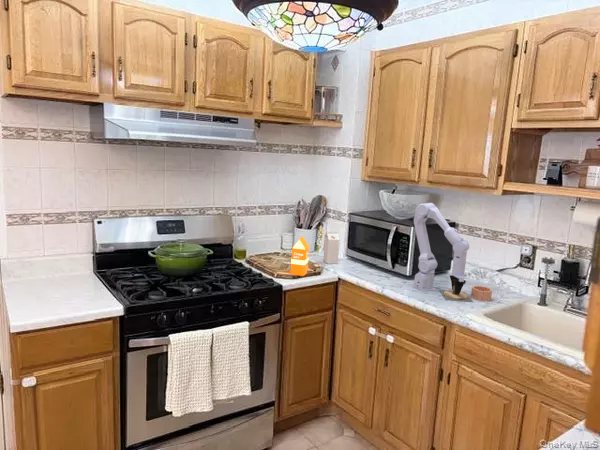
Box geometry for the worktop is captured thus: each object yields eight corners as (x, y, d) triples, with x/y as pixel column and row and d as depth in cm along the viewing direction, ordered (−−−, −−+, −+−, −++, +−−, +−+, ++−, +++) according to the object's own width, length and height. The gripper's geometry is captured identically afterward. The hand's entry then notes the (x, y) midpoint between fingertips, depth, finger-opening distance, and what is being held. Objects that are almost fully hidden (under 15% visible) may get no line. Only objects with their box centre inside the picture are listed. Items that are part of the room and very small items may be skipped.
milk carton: (323, 261, 275) (325, 230, 272) (334, 260, 277) (336, 230, 273) (326, 264, 268) (328, 233, 265) (337, 263, 270) (340, 233, 267)
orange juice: (290, 274, 242) (292, 238, 239) (294, 270, 251) (296, 235, 247) (304, 276, 240) (306, 239, 237) (307, 271, 249) (310, 236, 246)
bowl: (482, 302, 212) (483, 292, 211) (467, 296, 220) (468, 287, 219) (494, 300, 217) (496, 290, 216) (479, 294, 224) (480, 285, 223)
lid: (456, 300, 212) (457, 290, 211) (438, 293, 221) (439, 284, 220) (472, 297, 217) (473, 288, 216) (454, 291, 227) (455, 281, 226)
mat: (445, 300, 212) (445, 300, 212) (438, 290, 228) (438, 289, 228) (473, 303, 211) (473, 302, 211) (464, 292, 227) (464, 291, 226)
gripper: (471, 269, 209) (468, 297, 211) (463, 261, 223) (460, 288, 226) (456, 268, 210) (453, 296, 212) (449, 260, 224) (446, 286, 226)
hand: (455, 291), depth 219 cm, fingers open, 5 cm apart
